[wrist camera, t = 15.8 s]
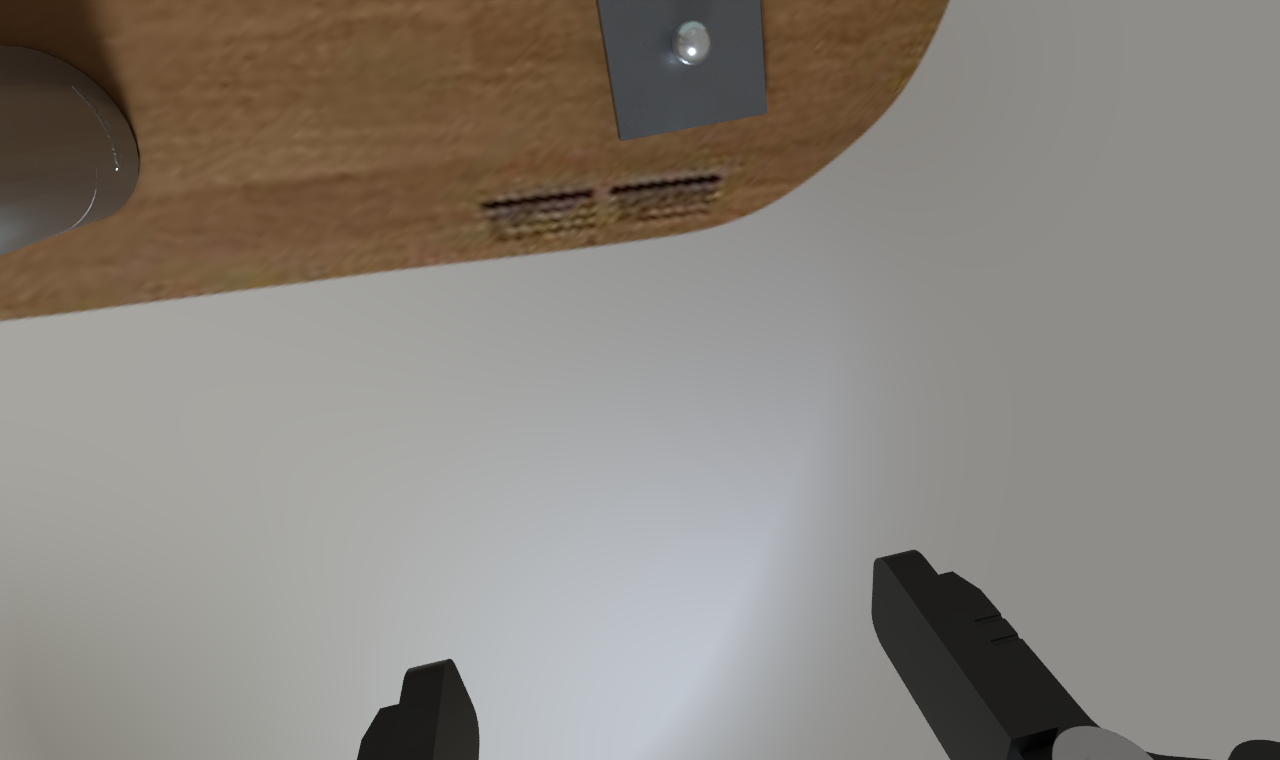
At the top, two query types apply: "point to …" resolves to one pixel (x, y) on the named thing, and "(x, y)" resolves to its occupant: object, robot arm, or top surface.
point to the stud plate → (682, 63)
